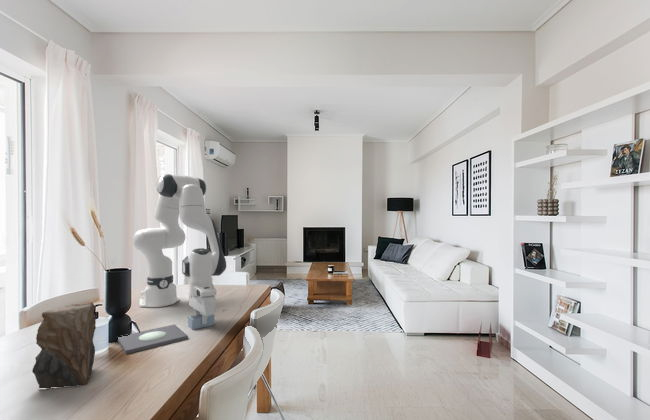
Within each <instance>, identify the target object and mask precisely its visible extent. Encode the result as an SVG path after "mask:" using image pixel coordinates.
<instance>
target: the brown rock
mask: <svg viewBox="0 0 650 420" xmlns="http://www.w3.org/2000/svg"><path fill="white" fill-rule="evenodd" d="M95 309H96V308H95V304H94V302H90V303H89V302H88V303H83V304H73V303H72V304H70V305H66V306H65V307H62V308H58V309H56V310H47V311H44V312H42V313H41V317H42V321H41V323H40V325H39V326H38V328H37V330H36V331H37V333H36V337H35V340H36V342H35V344H36V345H38V347H39V348H40V349H41V350H40V352H39V353H38V354H37V355H36V356H35V363H34V365H33V367H32V370H31V371H32V373H33V374H34V376H35V379H36V383H37V384H38V389H39V388H51V387H64V386H75V387H78V386H77V385H81V386H86V384H87V385H88V382H89V381H88V380H89V379H90V376H91V373H92V370H93V367H94V366H93V365H94V361H95V354H96V349H95V348H96V346H95V344H94V337H95V332H96V328H97V327H96V316H95V313H94V312H95ZM64 388H65V387H64Z"/></svg>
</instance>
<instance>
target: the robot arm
mask: <svg viewBox="0 0 650 420" xmlns="http://www.w3.org/2000/svg"><path fill="white" fill-rule="evenodd" d="M156 190H157V193H158V198H157V203H156V206H155V209H154V218H155V220H156V221H157V222H159V223H161V225H160V227H148V228H142V229H139V230H136V232H135V233H134V234H133V238H132V242H133V246H134V247H135V248H136V249H137V250H139V251H140V252H141V253H142V254H143V255H144V256H145V259H146V262H147V271H148V274H147V275H148V276H147V278H146V284H147V285H146V287H145V288H144V290H142V291H141V292H140V296H141V298H139V307H140V308H160V307H166V306H171V305H174V304H175V303H177V302H179V301H181V299H180V298H179V297H178V294H177V292H178V291H177V285H176V284H174V275H173V261H172V259H171V258H170V257H169V256H166V255H165V254H164V253H163V250H166V249H174V248H177V247H180V246H183V244H184V243H185V241H186V233H185V231H184V229H182V228H181V227H180V225H179V218H180V221H181V223H183V225H185V226H186V227H188V228H190V229H192V230H196V231H199V232H201V233H203V234H204V235H206V237H207V239H208V243H209V247H210V249H207V248H203V247H202V248H194V249H192V250H191V253H190V255H188V256H186V257H184V258H183V259H182V260H181V273H182V274H183V275H184V277H187V278H190V279H189V294H188V304H189V307H190V308H191V309H194V315H199V314H202V319H201V323H202V324H206V323H207V318H208V316H211V315H214V316H215V313H216V304H217V303H216V301H217V300H216V295H217V292H218V291H217V289H216V288H215V285H214V283H213V277H215V276H221V275H222V274H223V273H224V272H225V271H226V269H227V260H226V256H225V255H224V252H223V248H222V245H221V241H220V237H219V233H218V229H217V227H216V223H215V221H214V219H212V218H210V216H209V215H208V214H207V213H208V212H207V211H206V203H205V197H204V196H205V195H206V191H207V185H206V182H205V181H204V180H203V179H202V178H198V177H193V176H189V175H184V174H183V175H179V174H161V175H160V176H159V177H158V179H157V181H156Z"/></svg>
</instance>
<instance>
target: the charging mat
mask: <svg viewBox="0 0 650 420" xmlns="http://www.w3.org/2000/svg"><path fill="white" fill-rule="evenodd" d="M139 332H140V333H139ZM129 334H130V335H128V334H127V335H128V336H123V335H121V336H122V337H118V336H117V337H118V340H117V342H118V344H119V345H120V347H121V349H122V351H123V352H124V354H125V355H129V354H133V353H137V352H140V351H144V350H147V349H152V348H157V347H160V346H161V347H162V346H165V345H168V344H172V343H177V342H180V341H185V340H188V339H189V336H188V334H186V332H185V331H183V330H182V329H181V328H179V327H178V326H177V324H170V325H165V326H161V327H156V328H151V329H147V330H143V331H137V332H131V333H129Z"/></svg>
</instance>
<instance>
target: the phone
mask: <svg viewBox="0 0 650 420" xmlns="http://www.w3.org/2000/svg"><path fill="white" fill-rule="evenodd" d="M201 319H202V314H201V313H200V314H199V315H195V314H193V315H189V316H188V317H187V327H188V328H189V329H191V330H196V329H201V328H207V327H209V326H213V325H215V314H214V315H211V316H208V318H207V323H206V324H202V323H201Z"/></svg>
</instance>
